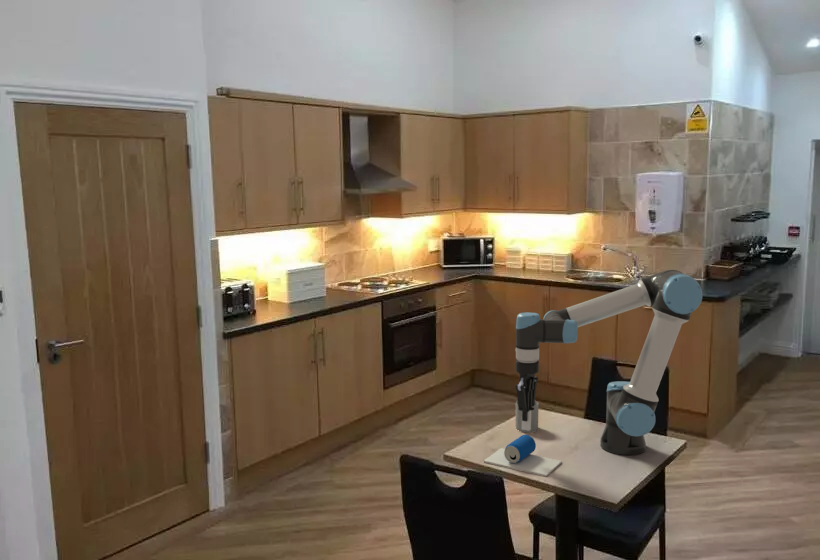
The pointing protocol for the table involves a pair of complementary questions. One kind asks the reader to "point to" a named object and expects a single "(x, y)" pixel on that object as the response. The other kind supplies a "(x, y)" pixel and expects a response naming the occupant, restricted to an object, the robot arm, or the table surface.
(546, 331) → the robot arm
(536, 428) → the cup
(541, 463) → the flat white box
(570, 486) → the table surface
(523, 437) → the beverage can
